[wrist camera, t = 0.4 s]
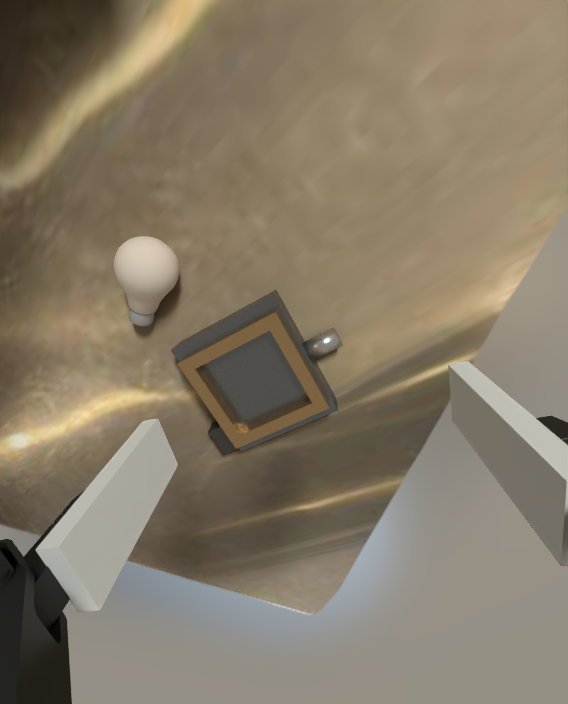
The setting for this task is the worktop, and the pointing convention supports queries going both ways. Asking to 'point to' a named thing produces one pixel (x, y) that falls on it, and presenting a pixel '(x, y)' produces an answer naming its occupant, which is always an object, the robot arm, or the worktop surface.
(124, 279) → the light bulb
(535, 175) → the worktop surface
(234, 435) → the grey brown-rimmed square tray
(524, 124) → the worktop surface
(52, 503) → the worktop surface
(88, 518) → the robot arm
